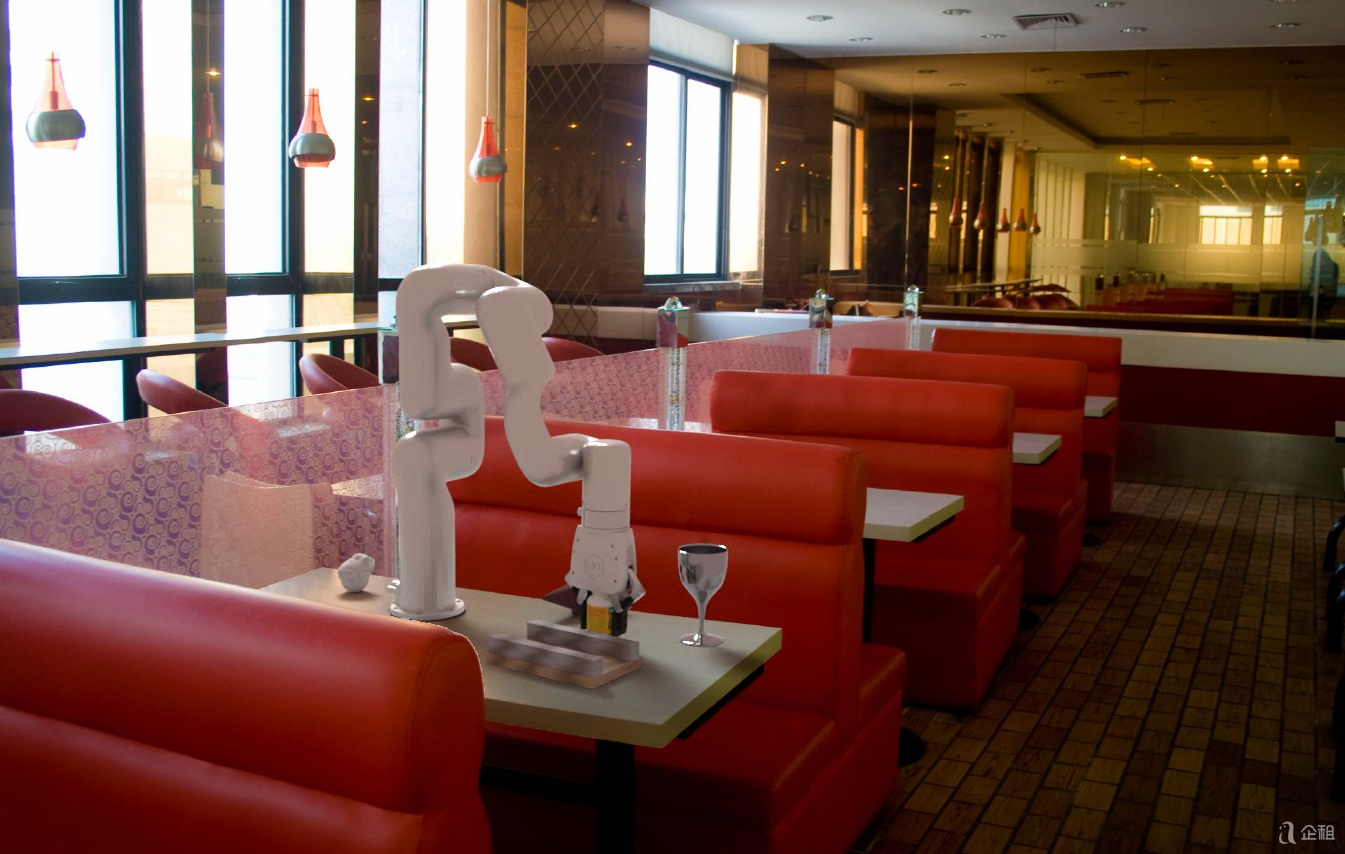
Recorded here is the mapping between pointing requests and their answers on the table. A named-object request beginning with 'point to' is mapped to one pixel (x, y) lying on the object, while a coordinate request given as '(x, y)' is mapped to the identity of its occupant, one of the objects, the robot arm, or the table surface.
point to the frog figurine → (356, 572)
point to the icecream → (564, 598)
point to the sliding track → (565, 654)
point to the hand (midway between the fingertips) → (603, 630)
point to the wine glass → (702, 583)
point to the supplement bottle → (600, 613)
